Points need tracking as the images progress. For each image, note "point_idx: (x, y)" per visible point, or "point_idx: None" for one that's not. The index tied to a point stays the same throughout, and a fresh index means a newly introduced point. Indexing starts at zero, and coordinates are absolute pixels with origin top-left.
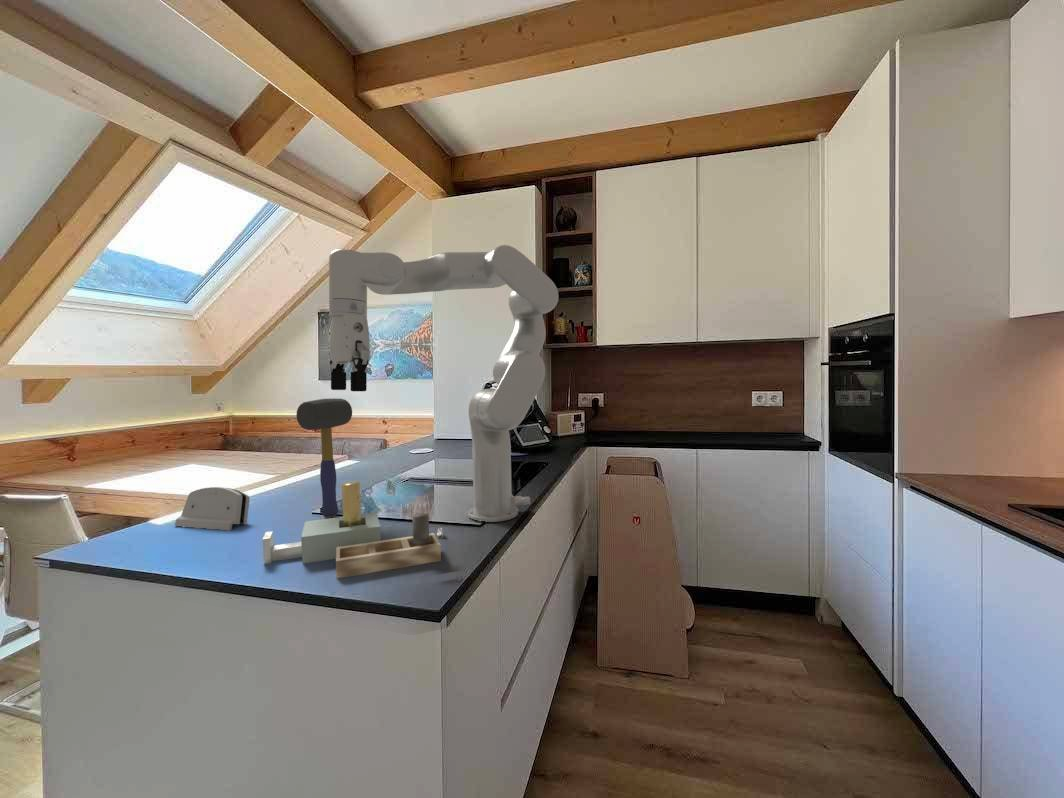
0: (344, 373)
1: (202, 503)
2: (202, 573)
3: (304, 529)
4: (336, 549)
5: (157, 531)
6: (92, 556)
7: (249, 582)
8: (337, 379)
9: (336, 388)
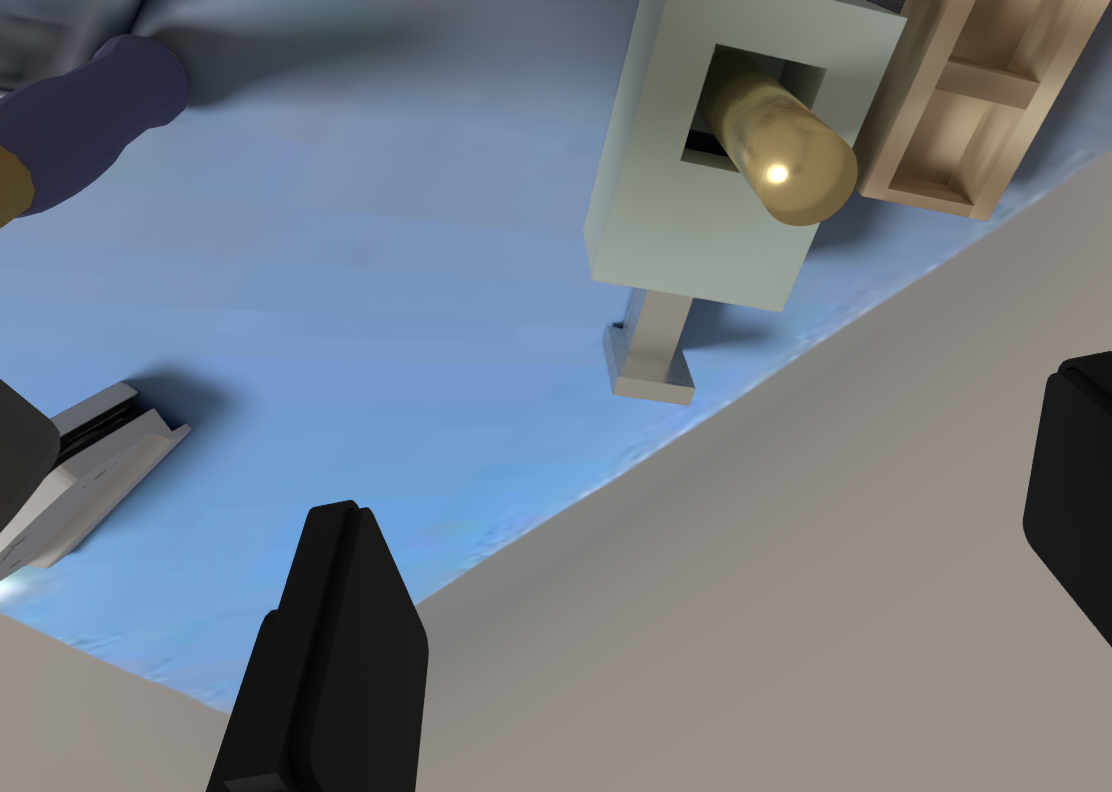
0: (322, 764)
1: (26, 548)
2: (588, 471)
3: (700, 293)
4: (883, 199)
5: (107, 583)
6: None
7: (741, 383)
8: (394, 732)
9: (410, 617)
